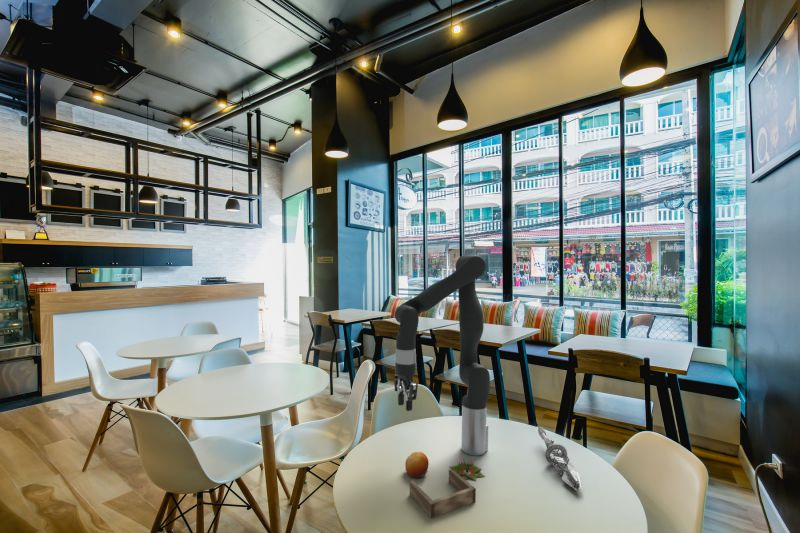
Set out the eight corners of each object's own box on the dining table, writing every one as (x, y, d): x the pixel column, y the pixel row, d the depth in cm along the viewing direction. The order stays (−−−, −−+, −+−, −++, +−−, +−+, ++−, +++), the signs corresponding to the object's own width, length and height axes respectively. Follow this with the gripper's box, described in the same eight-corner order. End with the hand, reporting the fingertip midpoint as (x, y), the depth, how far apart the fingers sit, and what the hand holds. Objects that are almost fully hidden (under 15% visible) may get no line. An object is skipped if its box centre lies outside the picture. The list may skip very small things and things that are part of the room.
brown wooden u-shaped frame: (451, 481, 122) (451, 468, 122) (475, 501, 111) (475, 488, 111) (409, 494, 114) (409, 481, 114) (430, 518, 103) (431, 504, 103)
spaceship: (551, 422, 150) (533, 415, 150) (595, 482, 115) (572, 472, 115) (543, 439, 151) (525, 432, 150) (584, 503, 116) (561, 494, 116)
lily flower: (473, 461, 135) (473, 449, 135) (491, 480, 123) (492, 466, 123) (443, 467, 131) (443, 454, 131) (459, 486, 120) (459, 472, 120)
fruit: (432, 478, 121) (420, 455, 121) (412, 487, 122) (400, 465, 123) (435, 465, 129) (423, 444, 129) (415, 474, 130) (404, 453, 131)
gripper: (425, 364, 129) (424, 412, 129) (404, 355, 142) (404, 399, 142) (406, 367, 125) (405, 416, 126) (387, 357, 138) (386, 402, 138)
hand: (404, 407), depth 134 cm, fingers open, 5 cm apart
